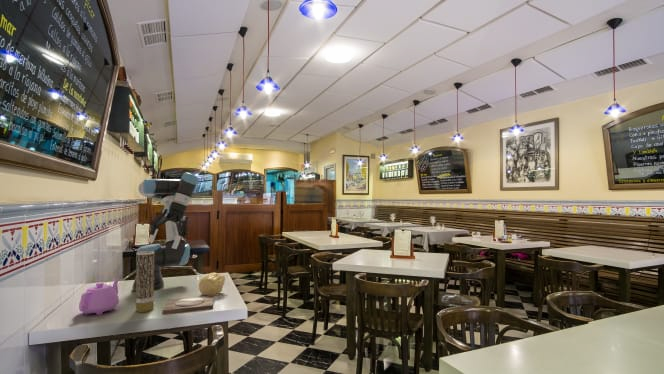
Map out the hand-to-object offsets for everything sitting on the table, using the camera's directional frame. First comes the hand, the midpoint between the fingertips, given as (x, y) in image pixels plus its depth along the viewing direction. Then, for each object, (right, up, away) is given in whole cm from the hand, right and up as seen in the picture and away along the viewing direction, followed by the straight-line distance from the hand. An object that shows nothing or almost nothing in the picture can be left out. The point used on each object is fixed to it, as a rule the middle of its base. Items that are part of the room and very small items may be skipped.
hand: (162, 245), depth 161 cm
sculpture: (+20, -27, +11) cm, 35 cm away
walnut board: (+16, -26, -8) cm, 32 cm away
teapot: (-20, -26, -14) cm, 35 cm away
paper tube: (-1, -26, -14) cm, 29 cm away
